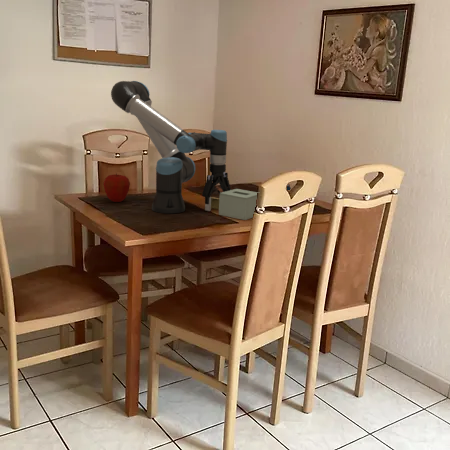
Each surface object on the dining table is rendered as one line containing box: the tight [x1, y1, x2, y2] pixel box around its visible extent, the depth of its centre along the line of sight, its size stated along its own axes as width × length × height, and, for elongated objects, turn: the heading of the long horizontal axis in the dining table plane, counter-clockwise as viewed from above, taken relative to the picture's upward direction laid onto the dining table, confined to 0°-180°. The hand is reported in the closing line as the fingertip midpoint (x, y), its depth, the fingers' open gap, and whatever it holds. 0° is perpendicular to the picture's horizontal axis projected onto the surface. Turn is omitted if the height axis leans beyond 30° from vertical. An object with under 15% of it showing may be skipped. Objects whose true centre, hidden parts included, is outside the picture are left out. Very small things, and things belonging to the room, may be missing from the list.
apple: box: [103, 172, 131, 203], centre depth 254 cm, size 12×12×14 cm
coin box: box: [218, 188, 259, 221], centre depth 241 cm, size 14×14×10 cm
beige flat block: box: [210, 196, 219, 211], centre depth 251 cm, size 2×6×5 cm, turn 56°
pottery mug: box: [210, 185, 223, 197], centre depth 269 cm, size 12×10×8 cm
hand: (216, 208), depth 252 cm, fingers open, 13 cm apart
